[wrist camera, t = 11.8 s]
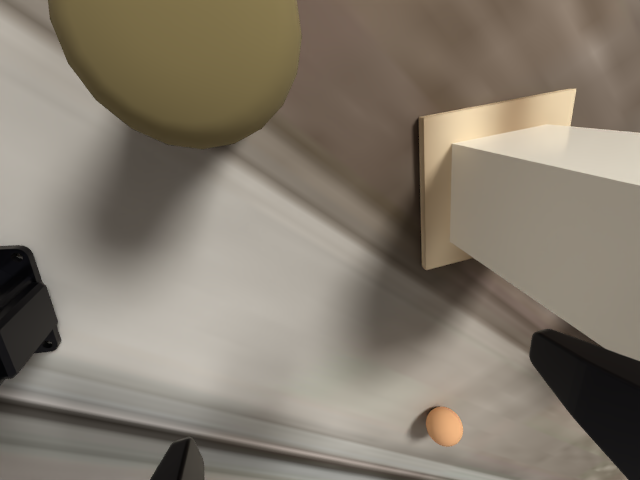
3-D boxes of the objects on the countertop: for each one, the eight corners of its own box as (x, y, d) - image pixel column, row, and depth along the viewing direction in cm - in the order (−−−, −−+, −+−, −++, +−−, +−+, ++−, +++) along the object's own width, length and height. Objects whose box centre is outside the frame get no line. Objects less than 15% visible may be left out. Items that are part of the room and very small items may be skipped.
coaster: (421, 266, 23) (426, 270, 23) (418, 117, 19) (423, 117, 19) (545, 234, 25) (551, 237, 24) (567, 89, 21) (576, 88, 20)
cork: (293, 108, 18) (364, 126, 8) (183, 147, 17) (109, 217, 7) (249, -30, 15) (273, -271, 5) (117, 11, 14) (-139, -168, 5)
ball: (417, 425, 31) (434, 457, 28) (422, 402, 29) (441, 432, 27) (446, 420, 31) (466, 450, 28) (452, 396, 30) (474, 426, 27)
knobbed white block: (449, 241, 22) (678, 398, 11) (452, 143, 20) (761, 212, 8) (534, 220, 23) (828, 345, 12) (547, 124, 21) (948, 161, 9)
